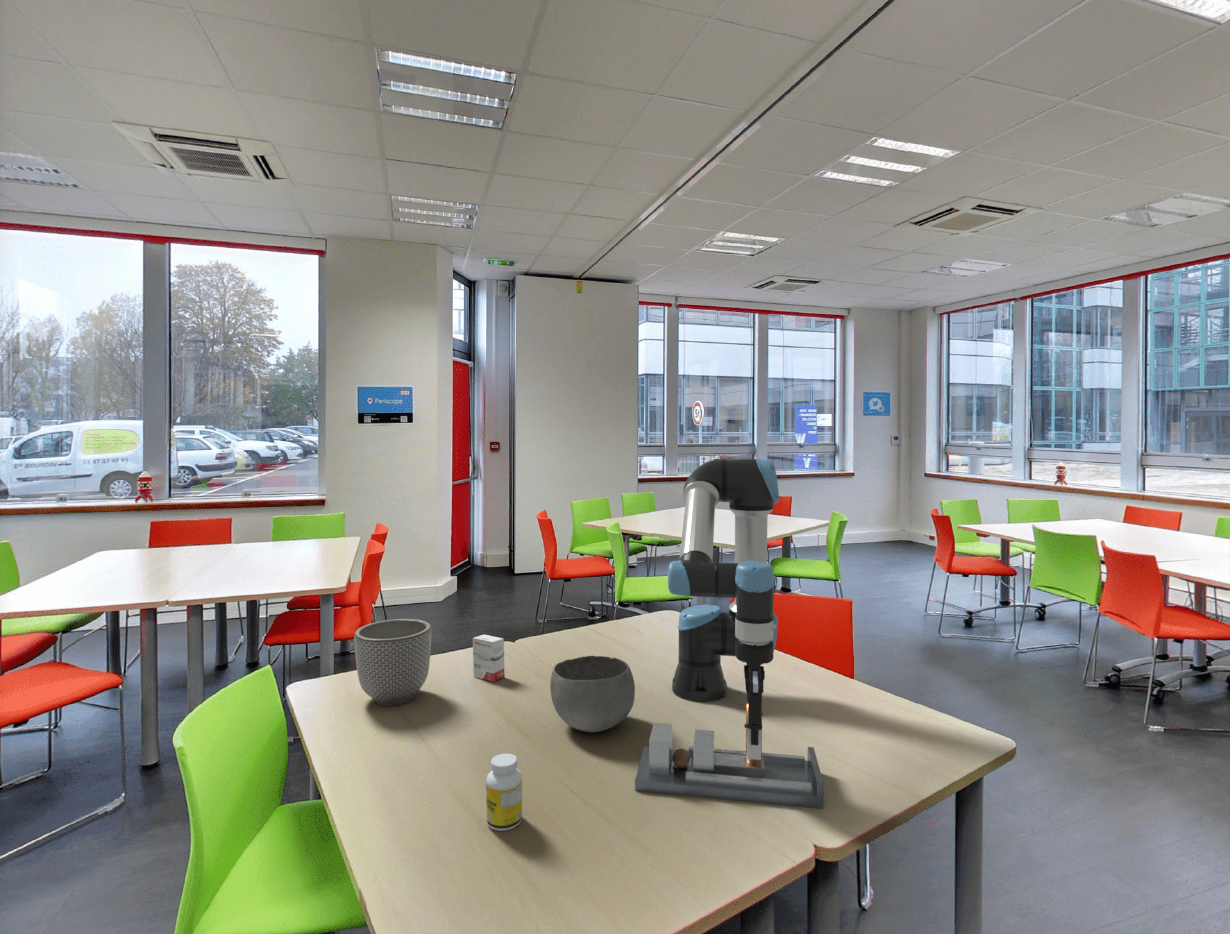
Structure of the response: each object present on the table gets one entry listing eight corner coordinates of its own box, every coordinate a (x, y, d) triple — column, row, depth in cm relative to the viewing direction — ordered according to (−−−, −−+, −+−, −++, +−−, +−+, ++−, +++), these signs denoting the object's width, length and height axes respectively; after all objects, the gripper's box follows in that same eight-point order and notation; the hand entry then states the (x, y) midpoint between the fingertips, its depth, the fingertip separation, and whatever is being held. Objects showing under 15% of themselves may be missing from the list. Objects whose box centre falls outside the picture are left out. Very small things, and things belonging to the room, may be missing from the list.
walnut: (668, 766, 130) (668, 749, 130) (681, 760, 132) (681, 743, 132) (681, 773, 127) (681, 755, 127) (693, 767, 129) (693, 750, 129)
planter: (338, 706, 164) (337, 634, 163) (391, 680, 182) (390, 615, 182) (398, 718, 157) (396, 643, 156) (447, 690, 175) (446, 622, 174)
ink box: (505, 677, 184) (505, 638, 184) (494, 682, 180) (493, 642, 180) (484, 671, 189) (483, 633, 188) (472, 676, 185) (471, 637, 184)
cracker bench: (634, 790, 124) (634, 746, 124) (644, 755, 138) (644, 715, 138) (823, 808, 118) (823, 762, 118) (813, 770, 132) (813, 728, 131)
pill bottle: (488, 812, 117) (488, 751, 117) (523, 810, 118) (523, 750, 117) (484, 834, 111) (483, 769, 110) (521, 831, 111) (520, 768, 111)
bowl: (647, 717, 158) (647, 658, 157) (613, 753, 139) (613, 687, 138) (576, 702, 166) (575, 647, 166) (534, 735, 148) (534, 673, 147)
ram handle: (693, 775, 125) (693, 707, 125) (695, 757, 133) (695, 692, 132) (764, 782, 123) (765, 712, 122) (762, 763, 130) (763, 697, 130)
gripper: (776, 654, 117) (775, 776, 118) (770, 628, 133) (769, 736, 134) (736, 652, 119) (735, 772, 119) (734, 626, 135) (734, 733, 135)
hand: (753, 753), depth 127 cm, fingers closed on ram handle, 3 cm apart
